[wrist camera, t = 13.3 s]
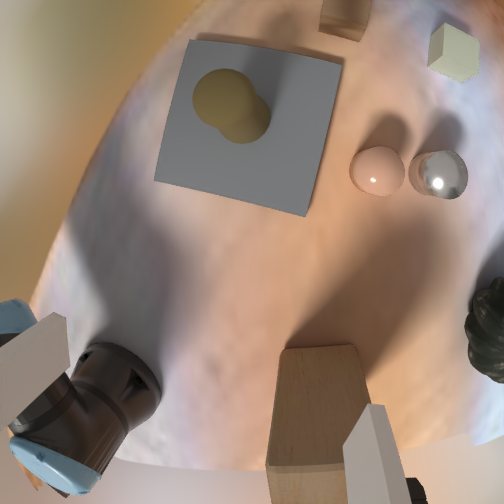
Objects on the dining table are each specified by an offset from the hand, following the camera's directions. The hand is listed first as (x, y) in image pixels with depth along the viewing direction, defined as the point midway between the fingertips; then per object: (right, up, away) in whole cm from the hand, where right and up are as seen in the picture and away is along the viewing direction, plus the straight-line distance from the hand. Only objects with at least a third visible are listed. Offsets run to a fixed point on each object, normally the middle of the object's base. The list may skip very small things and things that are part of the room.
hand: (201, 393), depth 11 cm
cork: (+1, +20, +21) cm, 29 cm away
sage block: (+26, +30, +16) cm, 43 cm away
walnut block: (+13, +33, +18) cm, 40 cm away
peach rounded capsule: (+15, +15, +22) cm, 30 cm away
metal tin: (+23, +15, +21) cm, 34 cm away
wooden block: (+11, -11, +29) cm, 33 cm away
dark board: (+1, +20, +22) cm, 30 cm away
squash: (+37, -3, +23) cm, 44 cm away
